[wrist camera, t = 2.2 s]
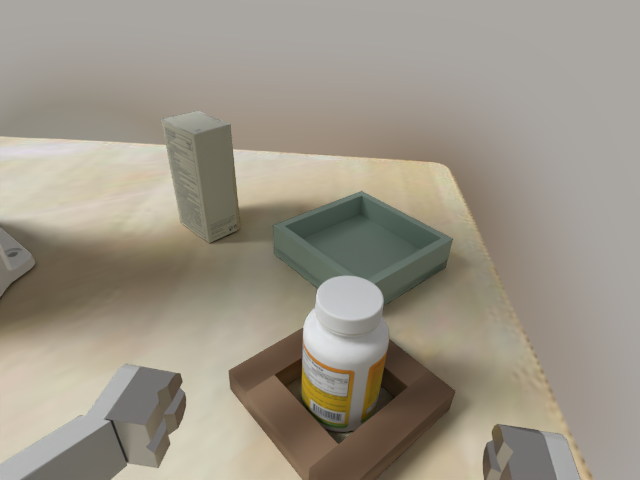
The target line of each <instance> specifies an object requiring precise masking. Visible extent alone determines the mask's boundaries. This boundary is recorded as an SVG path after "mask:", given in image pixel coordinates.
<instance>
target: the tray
mask: <svg viewBox="0 0 640 480" xmlns="http://www.w3.org/2000/svg"><path fill="white" fill-rule="evenodd" d="M273 236H274V254H275V255H276V256H277V257H279V258H280V259H281V260H283V261H284V262H285V263H286V264H288V265H289V266H290V267H291V268H293V269H294V270H295V271H296V272H298V273H299V274H300V275H302V276H303V277H304V278H305V279H307V280H308V281H309V282H310V283H312V284H313V285H314V286H315V287H317V288H319V287H320V286H321V285H322V284H323V283H324V282H325V281H327V280H329V279H331V278H334V277H338V276H356V277H361V278H363V279H366V280H368V281H370V282H372V283H373V284H375V285H376V286H377V287H378V288H379V289H380V291H381V293H382V295H383V299H384V304H383V306H384V305H386V304H388V303H389V302H391V301H392V300H394V299H396V298H397V297H399V296H400V295H402V294H404V293H405V292H407V291H408V290H410V289H412V288H413V287H415V286H416V285H418V284H420V283H421V282H423V281H424V280H426V279H427V278H429V277H431V276H432V275H434V274H435V273H437V272H439V271H440V270H442V269H443V268H445V267H446V264H447V260H448V256H449V252H450V248H451V244H452V240H453V239H452V238H450V237H448V236H447V235H445V234H443V233H441V232H439V231H437V230H435V229H433V228H431V227H429V226H427V225H426V224H424V223H422V222H420V221H418V220H416V219H414V218H412V217H410V216H408V215H406V214H405V213H403V212H401V211H399V210H397V209H395V208H393V207H391V206H389V205H387V204H385V203H384V202H382V201H380V200H378V199H376V198H374V197H372V196H370V195H368V194H366V193H364V192H363V191H361V192H358V193H355V194H353V195H350V196H348V197H345V198H342V199H340V200H337V201H335V202H332V203H329V204H327V205H324V206H322V207H319V208H316V209H314V210H311V211H309V212H306V213H303V214H301V215H298V216H296V217H293V218H291V219H288V220H285V221H283V222H280V223H278V224H275V225H273Z"/></svg>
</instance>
